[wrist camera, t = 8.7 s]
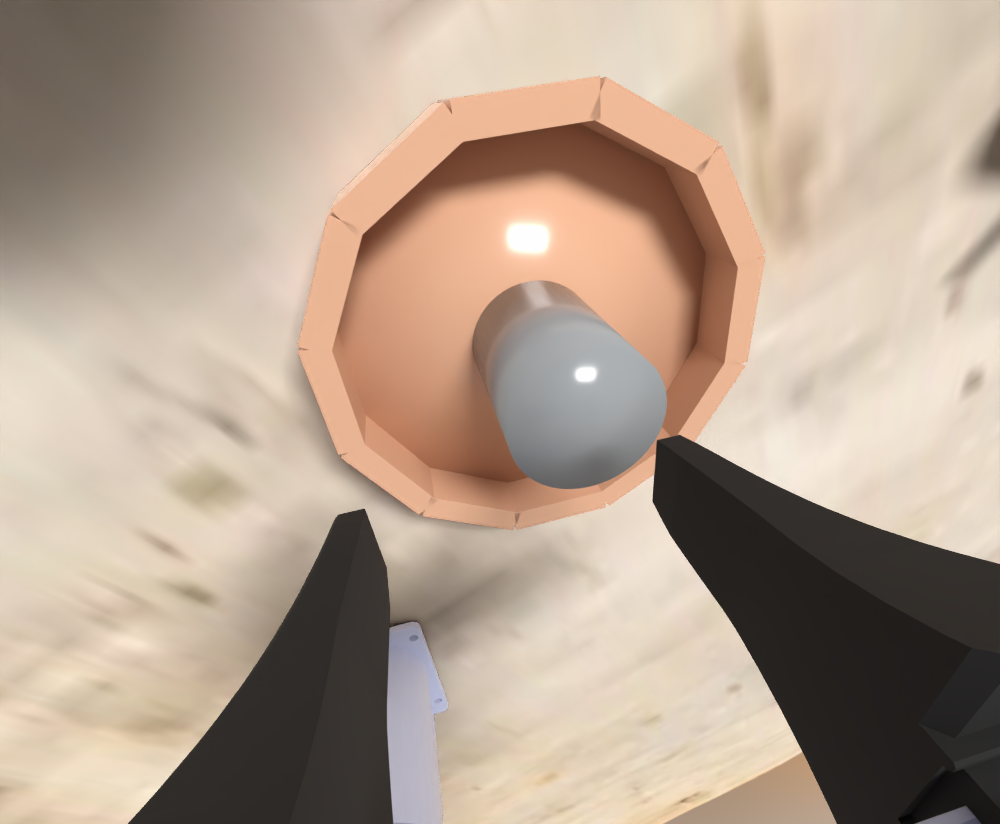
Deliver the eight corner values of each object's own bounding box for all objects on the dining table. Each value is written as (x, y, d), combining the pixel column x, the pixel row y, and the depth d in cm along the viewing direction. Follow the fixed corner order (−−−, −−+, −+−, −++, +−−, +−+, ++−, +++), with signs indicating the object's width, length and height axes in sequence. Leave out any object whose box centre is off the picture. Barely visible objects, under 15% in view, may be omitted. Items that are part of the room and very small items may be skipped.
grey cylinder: (599, 374, 20) (670, 459, 15) (490, 410, 20) (527, 508, 15) (582, 263, 18) (662, 323, 13) (456, 303, 18) (488, 380, 13)
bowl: (693, 439, 25) (728, 475, 22) (381, 515, 23) (381, 564, 21) (735, 54, 16) (801, 45, 14) (240, 130, 14) (212, 135, 12)
